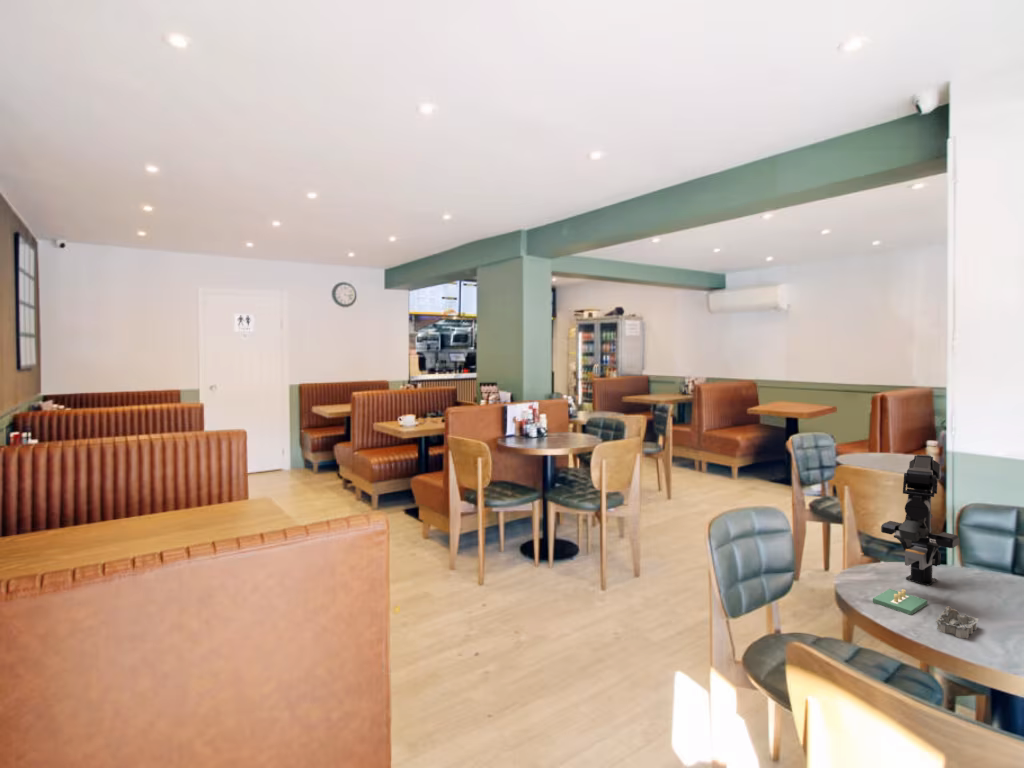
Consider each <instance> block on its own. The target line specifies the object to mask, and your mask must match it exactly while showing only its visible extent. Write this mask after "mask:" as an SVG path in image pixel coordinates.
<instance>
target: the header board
mask: <svg viewBox="0 0 1024 768" xmlns="http://www.w3.org/2000/svg"><path fill="white" fill-rule="evenodd" d="M906 592H907V591H906V589H904V588H902V589H901V591H898V590H896V589H893V588H888V589H887V590H885V591H883V592H881V593H880V594H878V595H876V596H874V597H873V598H872V603H874V604H876V605H880V606H883V607H886V608H889V609H892V610H895V611H898V612H900V611H901V613H904V614H907V615H913V614H914V613H916V612H918V611H919V610H921V609H922V608H924V607H925V606H927V605H928V600H927V599H925V598H921V597H918V596H916V595H911V594H908V593H906Z"/></svg>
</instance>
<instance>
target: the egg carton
mask: <svg viewBox="0 0 1024 768" xmlns="http://www.w3.org/2000/svg"><path fill="white" fill-rule="evenodd" d="M959 613H960V612H959V611H958V610H956V609H955V608H952V607H951V606H950V605H948V606H946V607H944V608H943V611H942V612H941V613H940V615H939V616H937V618H936V620H935V623H936V625H937V630H939V631H940V632H941V633H944V634H947V633H949V634H952V635H955V637H956V638H960V639H962V638H963V639H964V638H965V639H968V638H970V637H969V635H972V634H974V633H973V632H974V631H973V630H977V628H978V627H977V625H978V624H977V623H978V621H979V618H978V617H977V618H976V617H974V616H969V615H967V614H964V615H961V614H959Z"/></svg>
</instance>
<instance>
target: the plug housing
mask: <svg viewBox="0 0 1024 768" xmlns="http://www.w3.org/2000/svg"><path fill="white" fill-rule="evenodd" d="M926 557H927V548H922V547H918V546H913V547H911V548H909V549H906V550H905V551H904V566H905V567H906V566H907V567H908V566H911V564H912V563H914V562H916V561H919V569H921V570H923V569H925V568H926V567H928V566H930V565H932V560H931V561H930V563H929V564H927V562H926Z"/></svg>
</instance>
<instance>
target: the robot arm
mask: <svg viewBox="0 0 1024 768" xmlns="http://www.w3.org/2000/svg"><path fill="white" fill-rule="evenodd" d="M908 465H909V466H908V468H907V470H906V472H904V473H903V482H902V483H903V484H902V494H905V495H907V500H906V503H905V505H904V511H905V518H904V521H903V522H898V521H893V520H889V521H887V522H883V523H882V524H881V526H880V527H881V528H880V531H881V533H883V534H887V535H893V534H894V535H893V538H895V539H896V540H898V541H899V542H900V544H901V545H902V548H903V551H904V552H905V550H906V549H909V548H911V547H913V546H918V547H922V548H927V557H926V562H927V564H929V563H930V561H931V560H932V565H930V566H928V567H926V568H925V569H923V570H921V569H919V561H916V562H914V563H912V564H910V574H909V575H908V576H906V577H905V579H906V580H908V581H913V582H915V583H918V584H922V585H926V586H930V585H932V584H934V583H936V582H937V580H938V579H937V578H935V577H933V567H934V566H935V567H938V566H941V552H940V551H939V548H940V547H943V548H947V549H953V548H955V547H957V546H959V545H960V537H959V536H958V535H957V534H955V533H949V532H946V531H945V532H944V531H942V532H940V533H939V534H938V533H932V532H933V527H932V526H931V525H932V524H931V523H932V521H931V520H932V518H933V514H932V498H935V494H936V495H937V494H938V481H939V480H941V463H939V462H937V461H936V460H934V457H933V456H931V455H926V454H925V455H923V454H917V455H914V458H913V459H911V460H910V461H909V464H908Z"/></svg>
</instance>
